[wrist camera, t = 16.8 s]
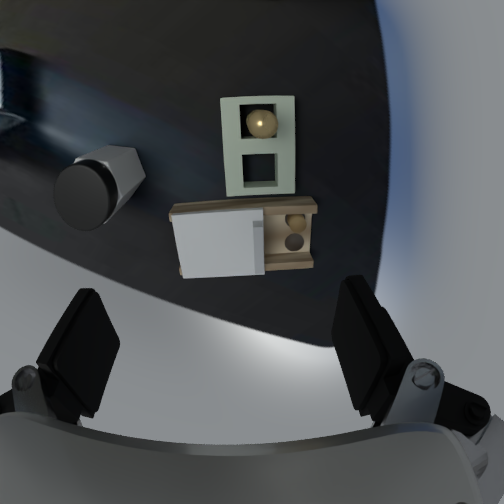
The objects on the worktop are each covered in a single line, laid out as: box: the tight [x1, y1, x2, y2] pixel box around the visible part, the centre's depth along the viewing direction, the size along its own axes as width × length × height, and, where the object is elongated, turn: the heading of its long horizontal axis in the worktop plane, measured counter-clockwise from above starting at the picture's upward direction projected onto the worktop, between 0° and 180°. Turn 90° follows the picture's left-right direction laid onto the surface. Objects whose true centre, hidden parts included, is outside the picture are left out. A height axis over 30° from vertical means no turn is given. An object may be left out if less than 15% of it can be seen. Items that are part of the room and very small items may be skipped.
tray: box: [169, 196, 317, 275], centre depth 40 cm, size 10×20×4 cm, turn 92°
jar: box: [53, 145, 146, 231], centre depth 31 cm, size 9×8×12 cm
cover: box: [171, 207, 264, 278], centre depth 37 cm, size 10×12×3 cm
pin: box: [246, 110, 278, 139], centre depth 29 cm, size 3×3×10 cm
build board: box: [220, 96, 295, 196], centre depth 34 cm, size 13×9×3 cm
